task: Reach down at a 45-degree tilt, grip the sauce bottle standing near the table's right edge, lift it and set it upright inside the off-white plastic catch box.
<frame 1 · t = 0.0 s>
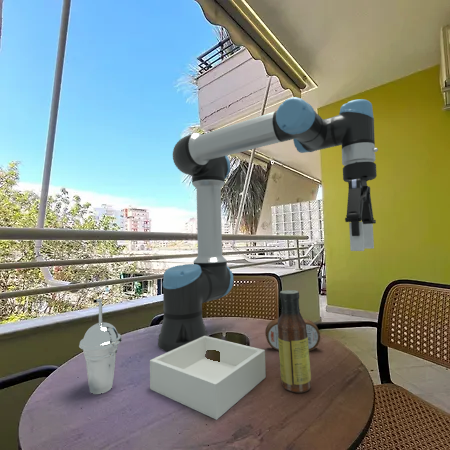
hand: (363, 249, 69), 28 cm above the table, tool pointing down, fingers open, 13 cm apart
sauce bottle: (295, 387, 59), on the table
tin: (293, 350, 78), on the table
cup with straw: (100, 390, 60), on the table
catch box: (209, 382, 61), on the table
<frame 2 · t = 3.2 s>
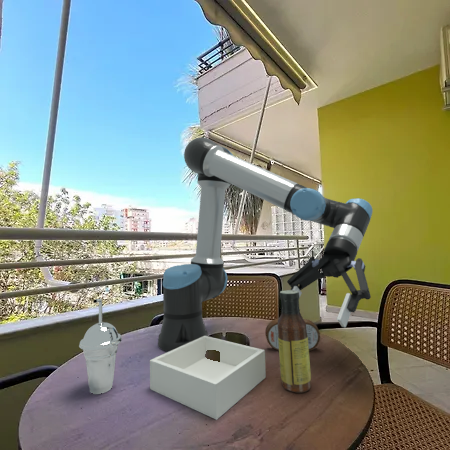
hand: (311, 317, 62), 14 cm above the table, tool tilted 45°, fingers open, 13 cm apart
nothing on the table moved.
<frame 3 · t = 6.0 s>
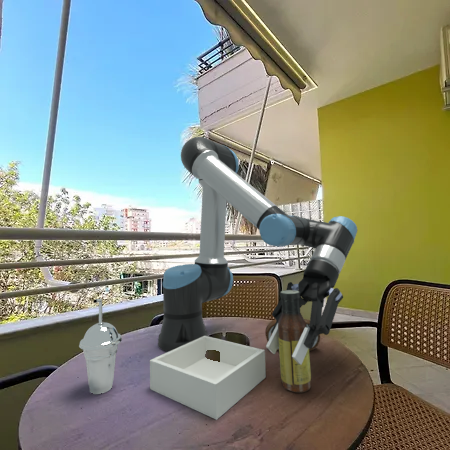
hand: (282, 355, 57), 7 cm above the table, tool tilted 45°, fingers closed on sauce bottle, 6 cm apart
sauce bottle: (295, 387, 59), on the table, touching gripper
everything else where it was.
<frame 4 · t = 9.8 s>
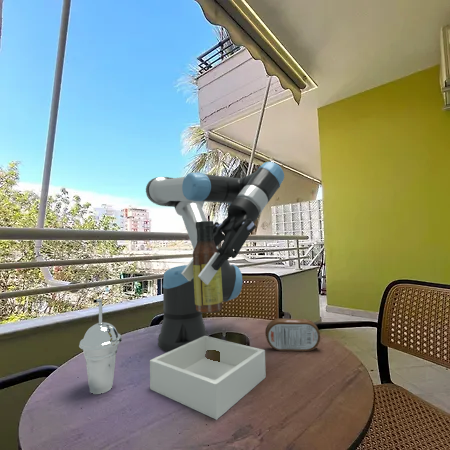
hand: (194, 278, 60), 23 cm above the table, tool tilted 45°, fingers closed on sauce bottle, 6 cm apart
sauce bottle: (208, 311, 62), point 16 cm above the table, touching gripper
everything else where it was.
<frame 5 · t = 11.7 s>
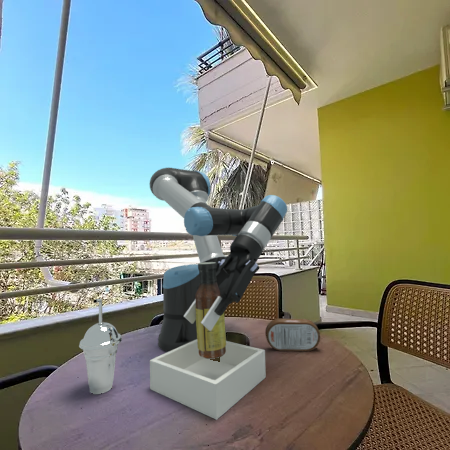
hand: (196, 323, 59), 14 cm above the table, tool tilted 45°, fingers closed on sauce bottle, 6 cm apart
sauce bottle: (211, 355, 61), point 6 cm above the table, touching gripper
everything else where it was.
when the fingers open (10 cm above the table, at t = 13.5 s): sauce bottle drops 1 cm, resting on catch box.
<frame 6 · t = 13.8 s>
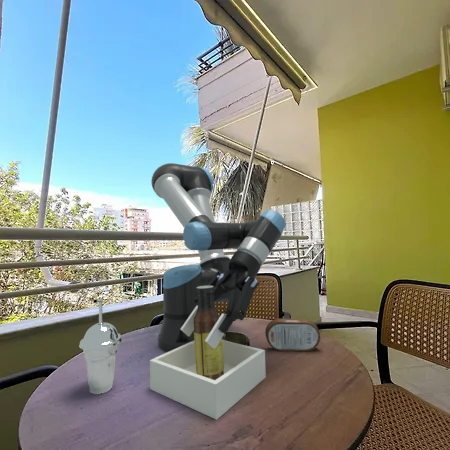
hand: (196, 338, 60), 10 cm above the table, tool tilted 45°, fingers open, 9 cm apart
sauce bottle: (209, 378, 61), point 1 cm above the table, touching catch box
everything else where it was.
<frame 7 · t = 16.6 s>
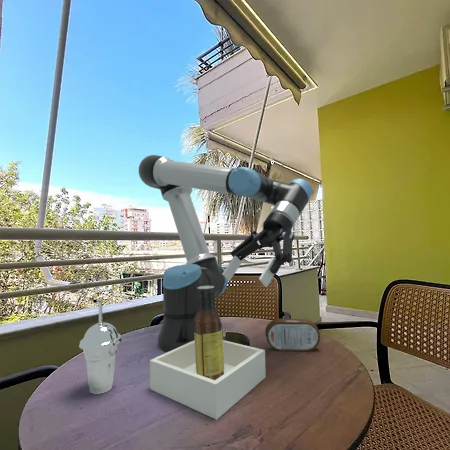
hand: (242, 280, 69), 21 cm above the table, tool tilted 45°, fingers open, 13 cm apart
nothing on the table moved.
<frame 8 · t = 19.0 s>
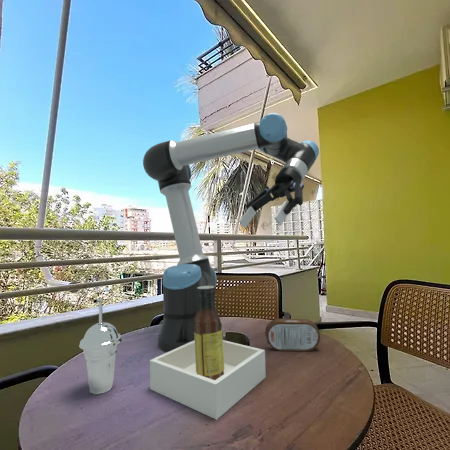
hand: (258, 223, 77), 36 cm above the table, tool tilted 45°, fingers open, 13 cm apart
nothing on the table moved.
at the end: sauce bottle inside the target area on the catch box (0.2 cm from its centre), point 0.8 cm above the catch box's base; sauce bottle tilted 0°; the gripper is holding nothing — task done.
